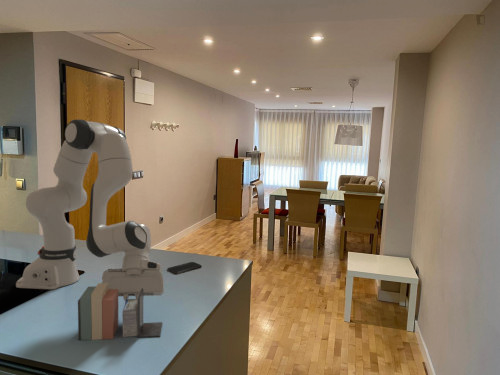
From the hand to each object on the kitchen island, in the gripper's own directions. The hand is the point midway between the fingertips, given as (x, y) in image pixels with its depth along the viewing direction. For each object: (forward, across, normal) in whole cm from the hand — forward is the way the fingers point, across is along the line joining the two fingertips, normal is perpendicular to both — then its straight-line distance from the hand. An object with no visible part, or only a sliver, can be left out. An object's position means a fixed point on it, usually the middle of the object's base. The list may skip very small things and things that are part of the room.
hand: (130, 308), depth 114 cm
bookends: (+7, -1, 0) cm, 7 cm away
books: (+7, -8, 0) cm, 11 cm away
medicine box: (+7, +1, 0) cm, 7 cm away
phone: (-31, +16, +39) cm, 53 cm away
